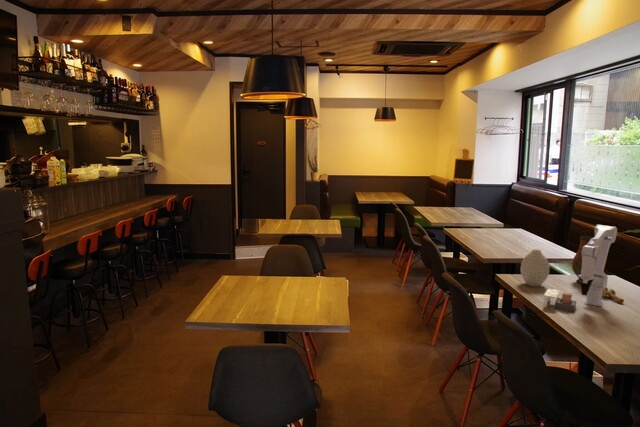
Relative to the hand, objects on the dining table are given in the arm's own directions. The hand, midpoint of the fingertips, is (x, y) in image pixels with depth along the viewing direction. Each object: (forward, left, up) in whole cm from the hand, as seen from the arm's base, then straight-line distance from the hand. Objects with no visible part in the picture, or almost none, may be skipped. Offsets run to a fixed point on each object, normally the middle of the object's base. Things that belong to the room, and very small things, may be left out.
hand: (585, 293), depth 252 cm
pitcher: (-57, -3, -10) cm, 58 cm away
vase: (-33, -30, -10) cm, 46 cm away
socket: (+2, -8, -9) cm, 13 cm away
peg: (+2, -8, -9) cm, 13 cm away
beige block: (+2, -15, -9) cm, 18 cm away
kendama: (-32, +11, -10) cm, 35 cm away
